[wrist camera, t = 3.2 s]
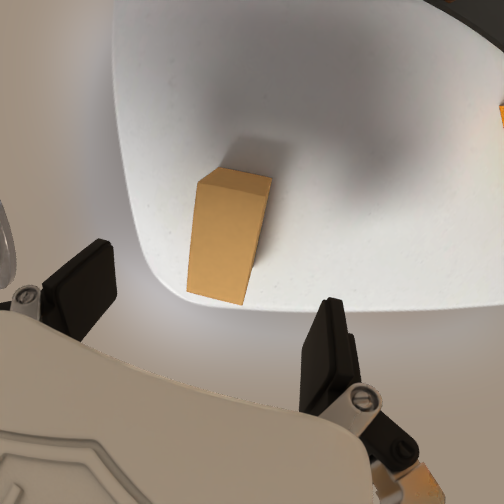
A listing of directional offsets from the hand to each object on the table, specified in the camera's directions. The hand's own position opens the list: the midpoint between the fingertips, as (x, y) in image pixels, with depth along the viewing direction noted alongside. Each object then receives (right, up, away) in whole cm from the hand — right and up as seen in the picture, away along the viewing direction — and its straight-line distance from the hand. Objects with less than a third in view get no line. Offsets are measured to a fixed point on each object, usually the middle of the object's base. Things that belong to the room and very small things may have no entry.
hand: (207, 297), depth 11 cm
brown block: (+1, +4, +8) cm, 9 cm away
